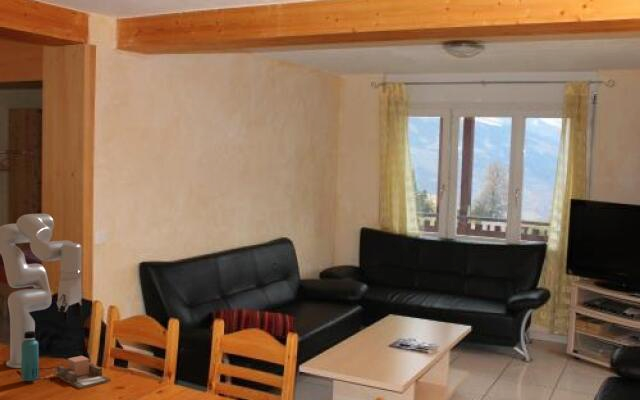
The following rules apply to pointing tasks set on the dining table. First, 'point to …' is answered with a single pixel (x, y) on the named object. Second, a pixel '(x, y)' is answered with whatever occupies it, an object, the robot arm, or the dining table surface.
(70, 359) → the block
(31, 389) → the dining table surface
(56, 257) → the robot arm
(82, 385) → the chute
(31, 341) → the beverage bottle
